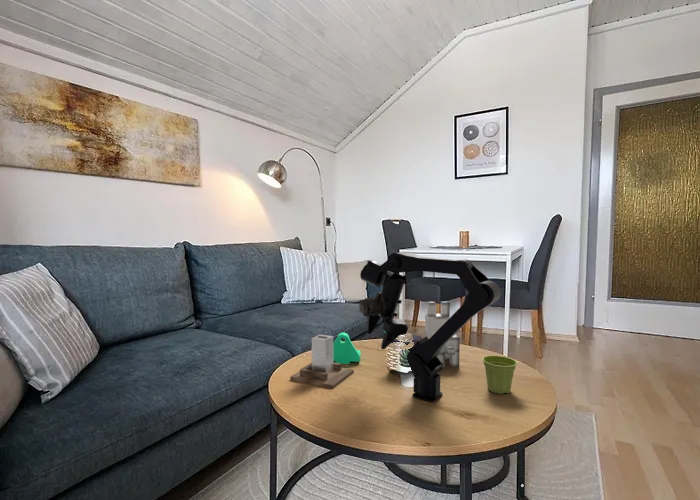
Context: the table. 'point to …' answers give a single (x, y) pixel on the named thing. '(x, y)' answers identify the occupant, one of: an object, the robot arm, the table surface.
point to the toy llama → (434, 323)
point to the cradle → (322, 376)
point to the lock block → (322, 354)
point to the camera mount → (345, 350)
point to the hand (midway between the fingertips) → (375, 341)
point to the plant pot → (499, 373)
